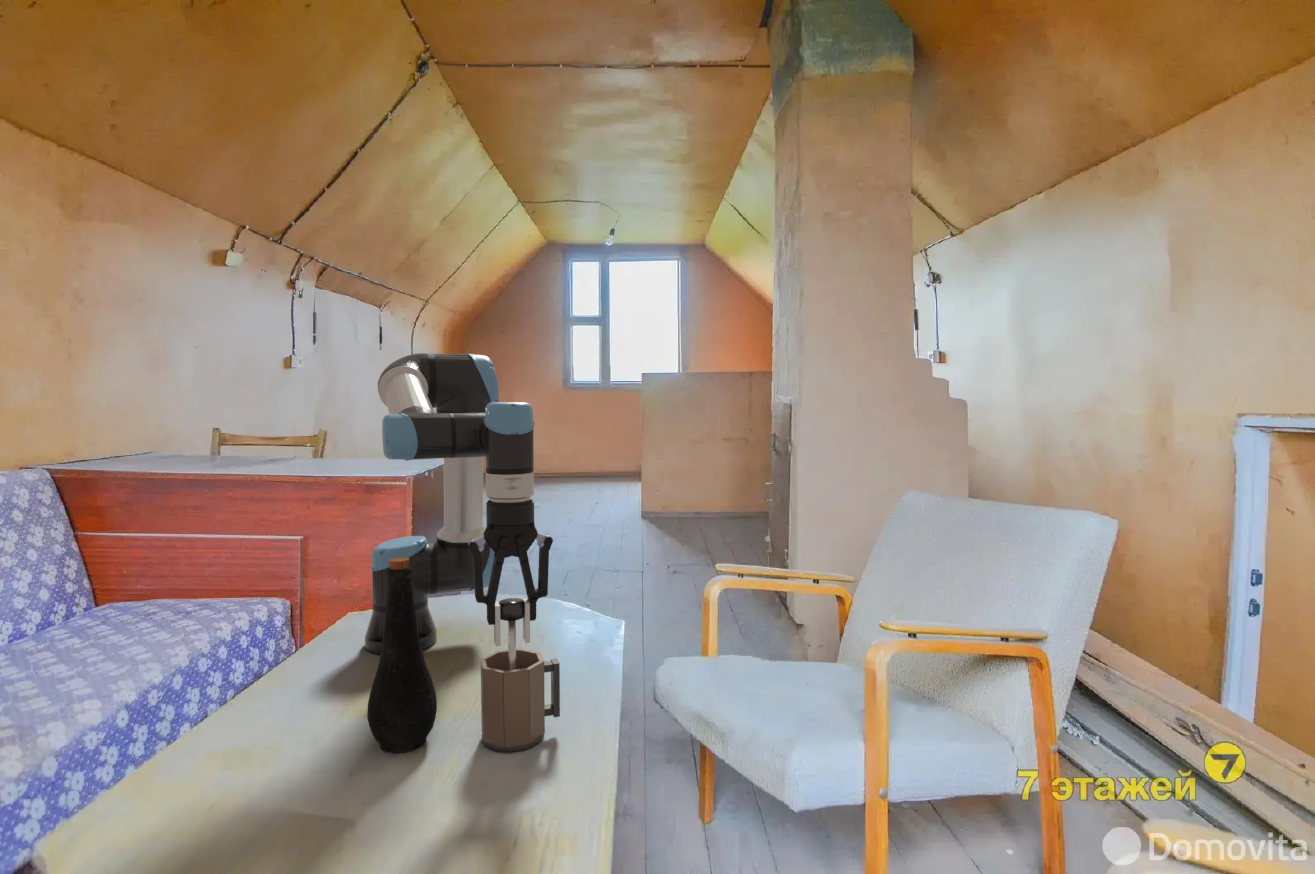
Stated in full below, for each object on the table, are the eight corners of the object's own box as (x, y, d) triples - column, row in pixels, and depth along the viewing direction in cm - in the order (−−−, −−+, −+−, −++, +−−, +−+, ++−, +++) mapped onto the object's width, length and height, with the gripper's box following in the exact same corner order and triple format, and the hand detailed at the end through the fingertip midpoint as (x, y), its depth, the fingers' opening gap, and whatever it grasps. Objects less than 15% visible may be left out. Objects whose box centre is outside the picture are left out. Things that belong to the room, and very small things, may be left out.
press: (479, 728, 122) (478, 652, 121) (553, 717, 126) (552, 644, 125) (484, 757, 112) (483, 675, 111) (564, 744, 116) (564, 665, 115)
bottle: (416, 762, 111) (411, 569, 109) (354, 755, 113) (348, 565, 111) (449, 730, 121) (446, 553, 119) (392, 724, 123) (387, 550, 121)
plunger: (489, 720, 120) (487, 597, 119) (530, 715, 123) (529, 593, 121) (494, 739, 114) (492, 609, 113) (537, 733, 116) (536, 605, 115)
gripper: (456, 504, 109) (459, 655, 111) (567, 499, 115) (568, 643, 117) (453, 497, 117) (456, 639, 118) (558, 492, 122) (559, 628, 124)
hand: (512, 641), depth 117 cm, fingers closed on plunger, 4 cm apart
